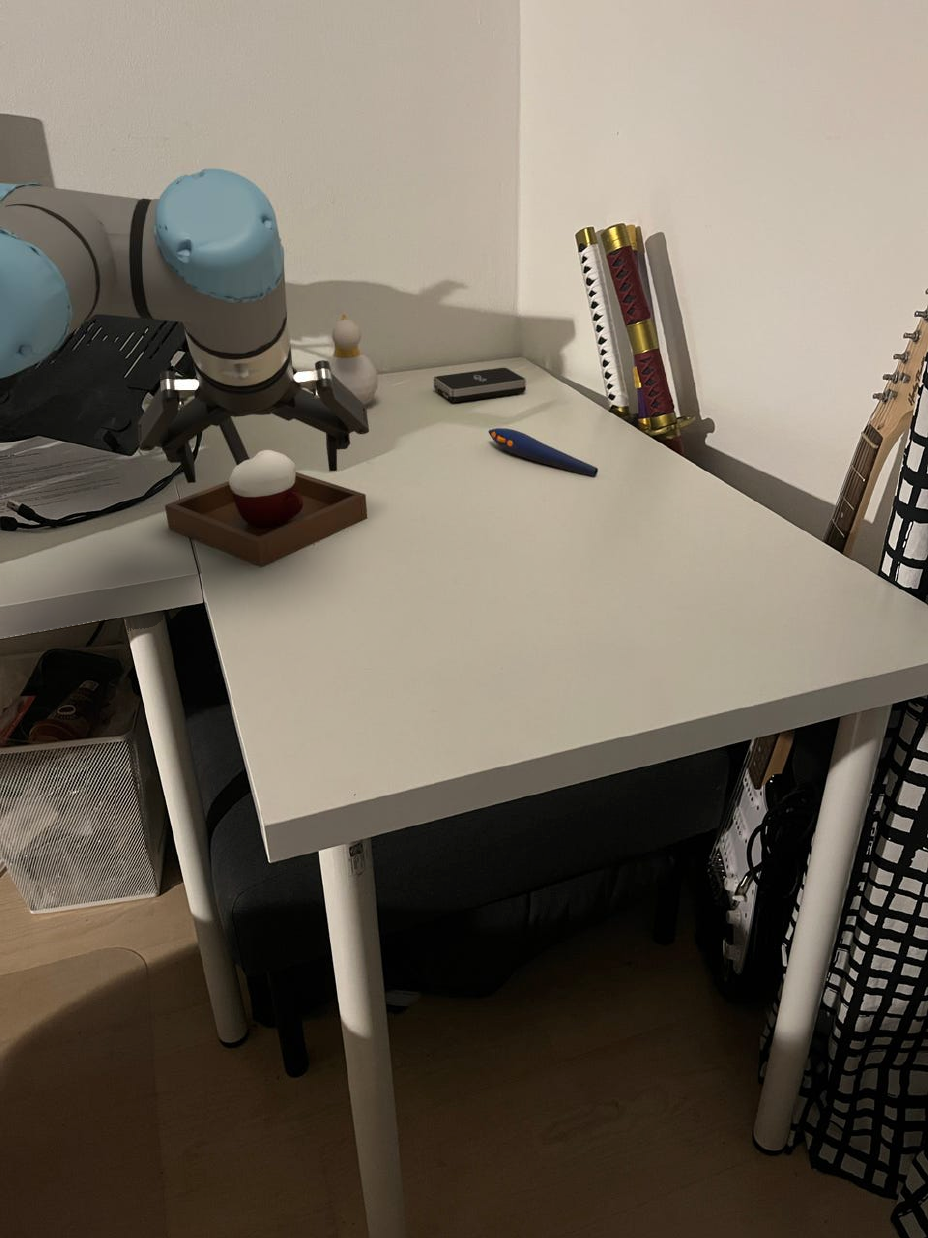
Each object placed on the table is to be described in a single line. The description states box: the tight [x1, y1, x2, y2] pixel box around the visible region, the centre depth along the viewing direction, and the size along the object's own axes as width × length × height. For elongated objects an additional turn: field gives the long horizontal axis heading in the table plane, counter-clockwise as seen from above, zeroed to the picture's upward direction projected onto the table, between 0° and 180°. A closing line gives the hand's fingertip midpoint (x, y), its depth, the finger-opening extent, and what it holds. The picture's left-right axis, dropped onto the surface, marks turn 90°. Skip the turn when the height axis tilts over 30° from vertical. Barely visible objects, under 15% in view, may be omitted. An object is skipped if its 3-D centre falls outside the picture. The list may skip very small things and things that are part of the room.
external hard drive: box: [433, 366, 527, 403], centre depth 131 cm, size 7×11×2 cm, turn 113°
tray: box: [164, 471, 368, 568], centre depth 94 cm, size 14×14×2 cm
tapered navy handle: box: [487, 427, 599, 477], centre depth 108 cm, size 16×4×2 cm, turn 45°
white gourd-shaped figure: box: [325, 314, 379, 406], centre depth 123 cm, size 8×10×12 cm
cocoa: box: [218, 416, 303, 527], centre depth 91 cm, size 10×6×12 cm, turn 34°
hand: (262, 464), depth 94 cm, fingers open, 13 cm apart
